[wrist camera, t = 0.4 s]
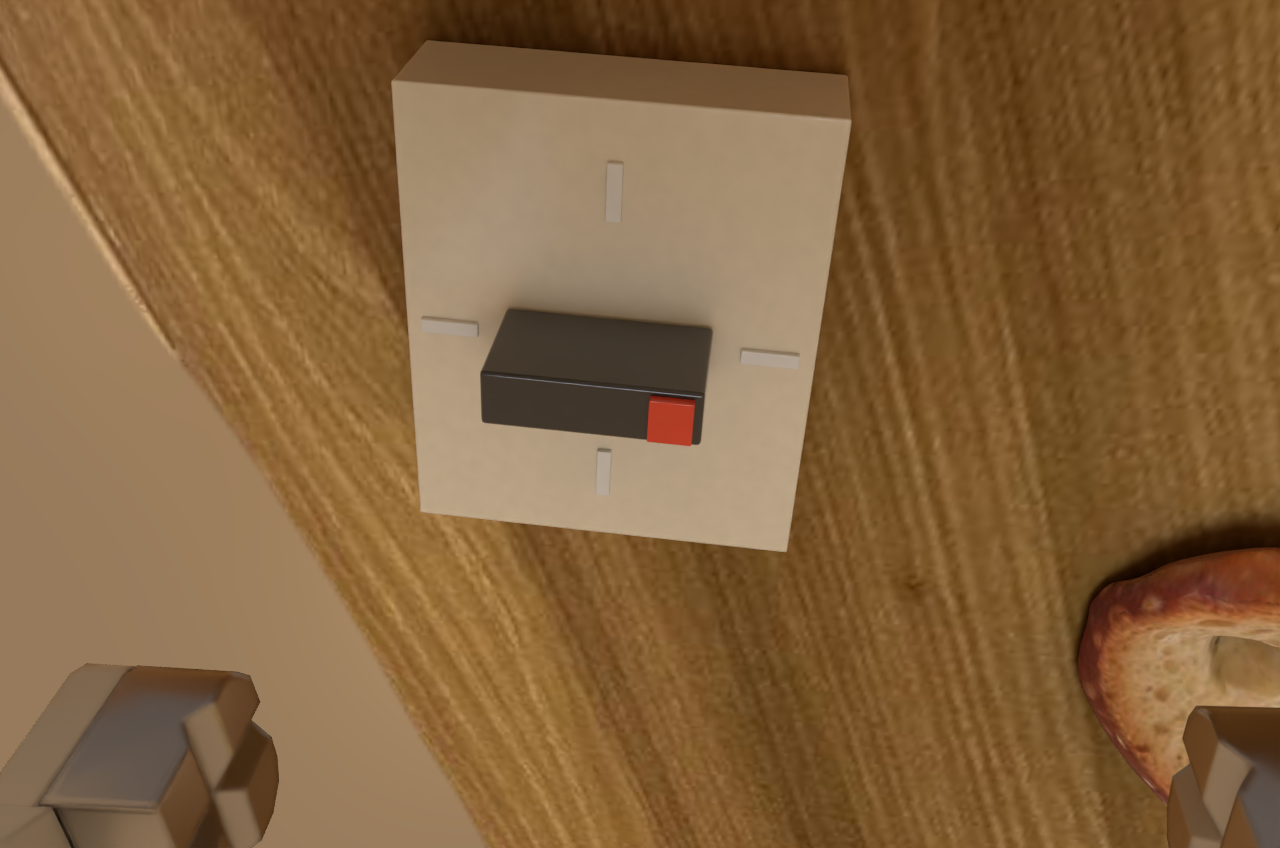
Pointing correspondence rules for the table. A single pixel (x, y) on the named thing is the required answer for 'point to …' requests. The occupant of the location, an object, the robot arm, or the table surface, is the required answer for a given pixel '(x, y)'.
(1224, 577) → the slice of bread
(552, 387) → the red-tipped dark block
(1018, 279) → the table surface
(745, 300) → the panel
